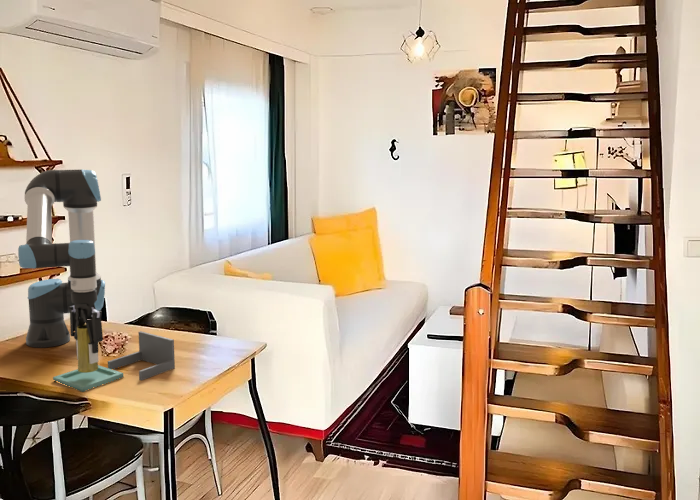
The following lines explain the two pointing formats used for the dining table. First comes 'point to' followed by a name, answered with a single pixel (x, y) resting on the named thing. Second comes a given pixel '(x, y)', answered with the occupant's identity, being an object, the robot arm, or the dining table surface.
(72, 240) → the robot arm
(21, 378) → the dining table surface
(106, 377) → the tray
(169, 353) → the dock
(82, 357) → the vase
